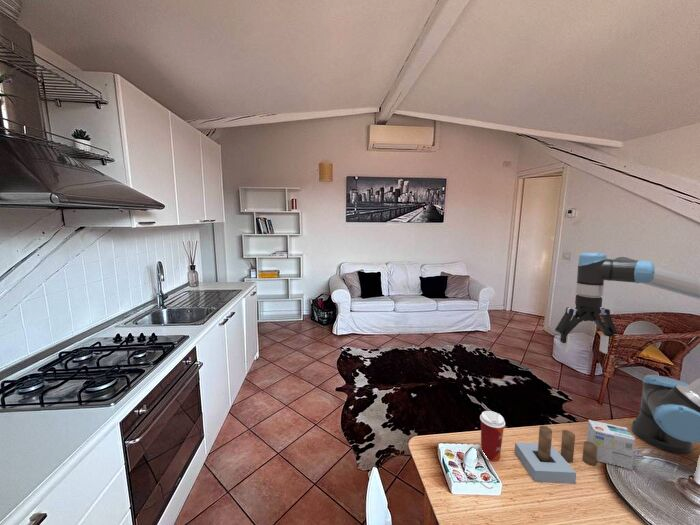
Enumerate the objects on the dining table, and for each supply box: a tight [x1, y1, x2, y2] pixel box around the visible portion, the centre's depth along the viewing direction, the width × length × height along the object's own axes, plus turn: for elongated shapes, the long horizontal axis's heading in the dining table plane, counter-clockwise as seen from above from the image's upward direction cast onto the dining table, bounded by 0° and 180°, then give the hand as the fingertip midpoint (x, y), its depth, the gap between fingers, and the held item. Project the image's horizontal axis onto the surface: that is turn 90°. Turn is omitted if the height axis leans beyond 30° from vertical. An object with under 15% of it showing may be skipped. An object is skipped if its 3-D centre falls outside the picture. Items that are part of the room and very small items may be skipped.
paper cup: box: [479, 410, 506, 462], centre depth 98 cm, size 8×8×14 cm
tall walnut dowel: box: [537, 425, 553, 462], centre depth 94 cm, size 3×3×13 cm
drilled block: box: [514, 442, 577, 484], centre depth 94 cm, size 12×12×4 cm
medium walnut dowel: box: [560, 429, 576, 464], centre depth 97 cm, size 3×3×9 cm
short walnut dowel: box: [582, 440, 597, 467], centre depth 96 cm, size 3×3×6 cm
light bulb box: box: [586, 419, 636, 471], centre depth 97 cm, size 11×7×11 cm, turn 65°
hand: (584, 351), depth 108 cm, fingers open, 13 cm apart
